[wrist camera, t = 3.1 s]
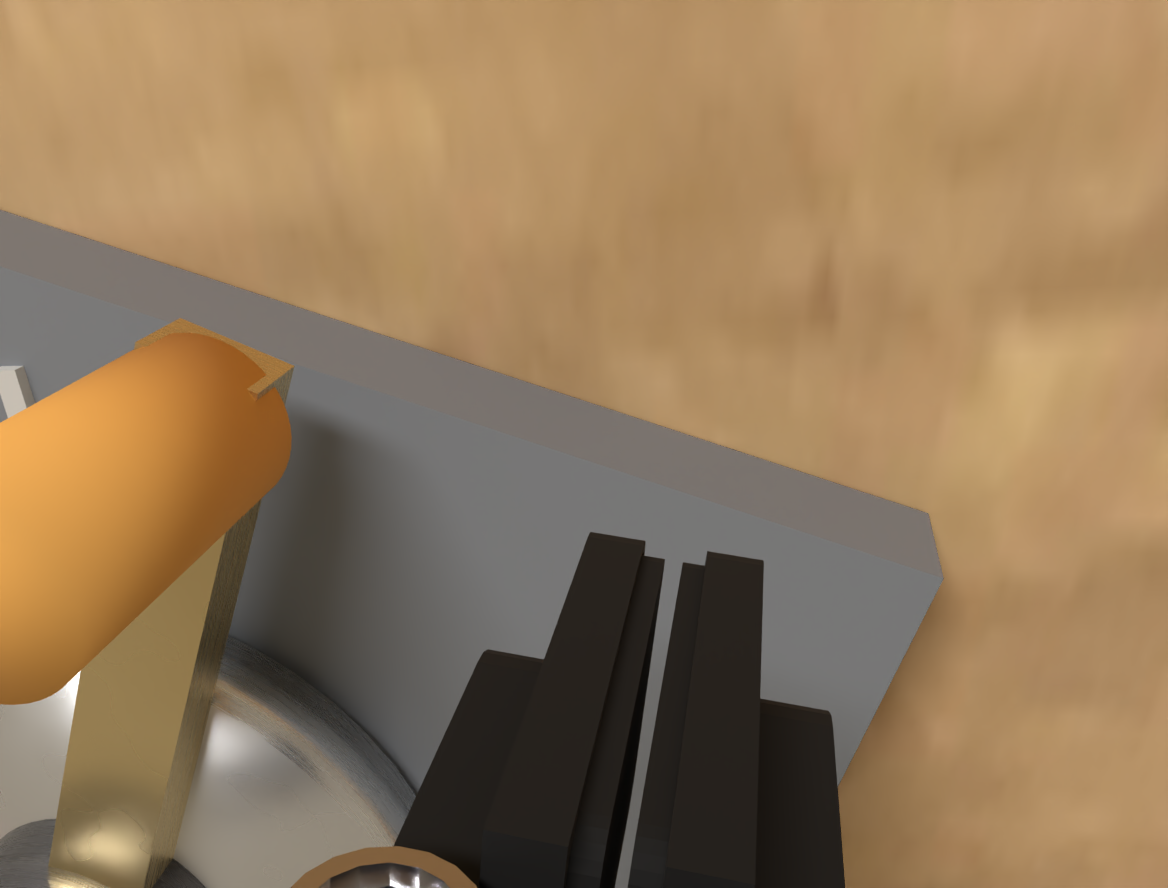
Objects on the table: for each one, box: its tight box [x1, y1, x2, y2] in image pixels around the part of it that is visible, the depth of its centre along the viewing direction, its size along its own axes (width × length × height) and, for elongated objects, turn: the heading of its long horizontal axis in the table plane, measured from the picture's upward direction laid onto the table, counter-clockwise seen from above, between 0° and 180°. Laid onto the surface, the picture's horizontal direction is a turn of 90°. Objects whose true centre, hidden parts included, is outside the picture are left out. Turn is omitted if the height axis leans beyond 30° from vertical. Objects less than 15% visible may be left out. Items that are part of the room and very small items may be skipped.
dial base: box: [0, 210, 944, 888], centre depth 21 cm, size 22×22×2 cm
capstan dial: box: [0, 318, 416, 888], centre depth 16 cm, size 18×12×6 cm, turn 160°
